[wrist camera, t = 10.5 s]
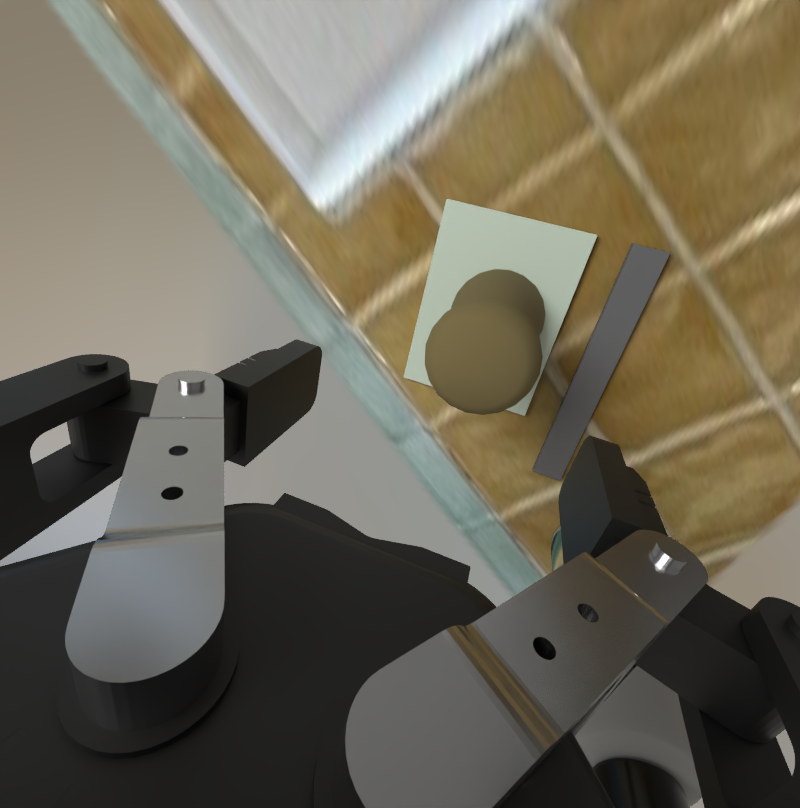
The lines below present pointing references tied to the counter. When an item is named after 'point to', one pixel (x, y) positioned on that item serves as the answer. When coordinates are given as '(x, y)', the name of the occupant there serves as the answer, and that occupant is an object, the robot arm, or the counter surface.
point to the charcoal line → (600, 357)
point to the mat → (499, 249)
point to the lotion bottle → (639, 740)
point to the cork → (488, 343)
